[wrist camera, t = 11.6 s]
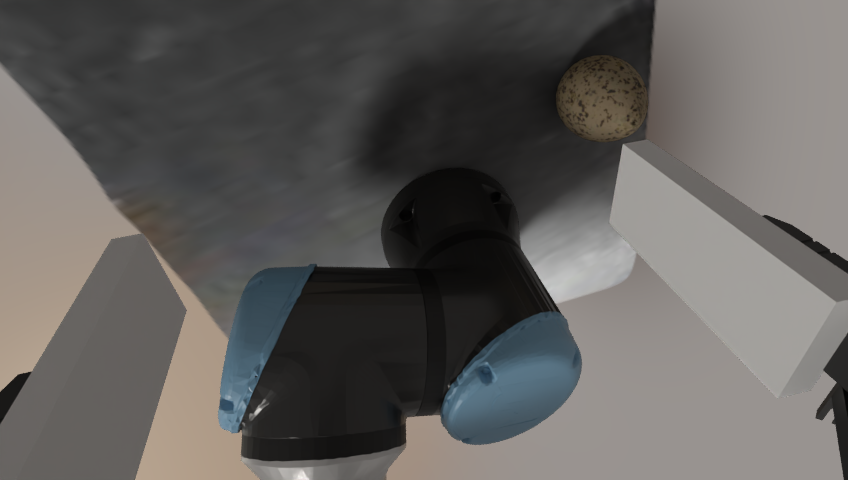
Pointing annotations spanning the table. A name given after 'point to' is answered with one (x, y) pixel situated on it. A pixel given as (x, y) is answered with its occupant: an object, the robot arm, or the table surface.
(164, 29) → the table surface
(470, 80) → the table surface
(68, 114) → the table surface
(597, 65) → the decorative egg
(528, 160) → the table surface
